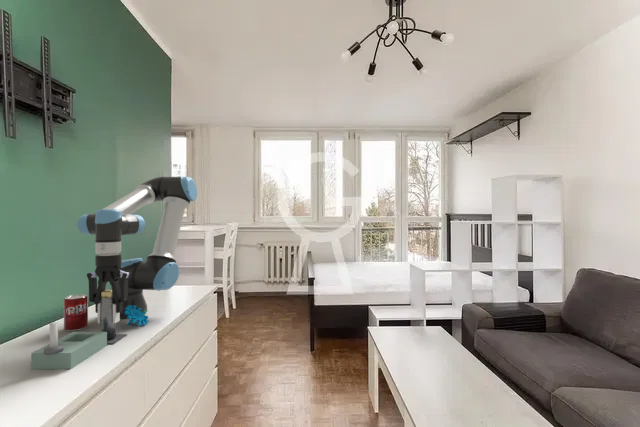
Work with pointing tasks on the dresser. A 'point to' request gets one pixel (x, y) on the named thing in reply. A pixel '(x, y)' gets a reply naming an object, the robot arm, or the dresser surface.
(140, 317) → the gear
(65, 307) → the soda can
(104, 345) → the fixture block
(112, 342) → the mat
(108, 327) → the silver tall can
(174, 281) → the robot arm
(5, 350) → the dresser surface
